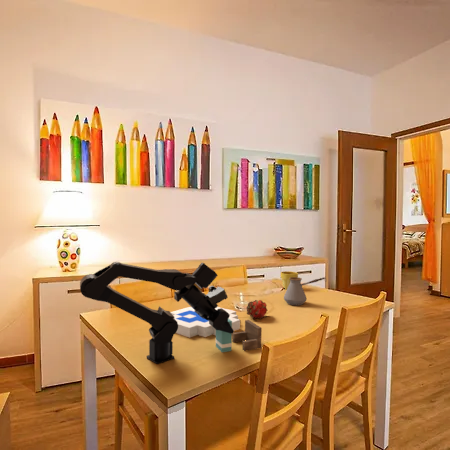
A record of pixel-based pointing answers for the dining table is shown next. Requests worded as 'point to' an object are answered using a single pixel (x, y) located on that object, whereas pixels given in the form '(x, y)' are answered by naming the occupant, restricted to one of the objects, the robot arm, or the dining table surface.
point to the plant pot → (287, 277)
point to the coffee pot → (297, 291)
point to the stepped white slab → (199, 322)
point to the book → (224, 340)
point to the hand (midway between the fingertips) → (227, 328)
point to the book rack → (249, 336)
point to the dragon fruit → (256, 309)
